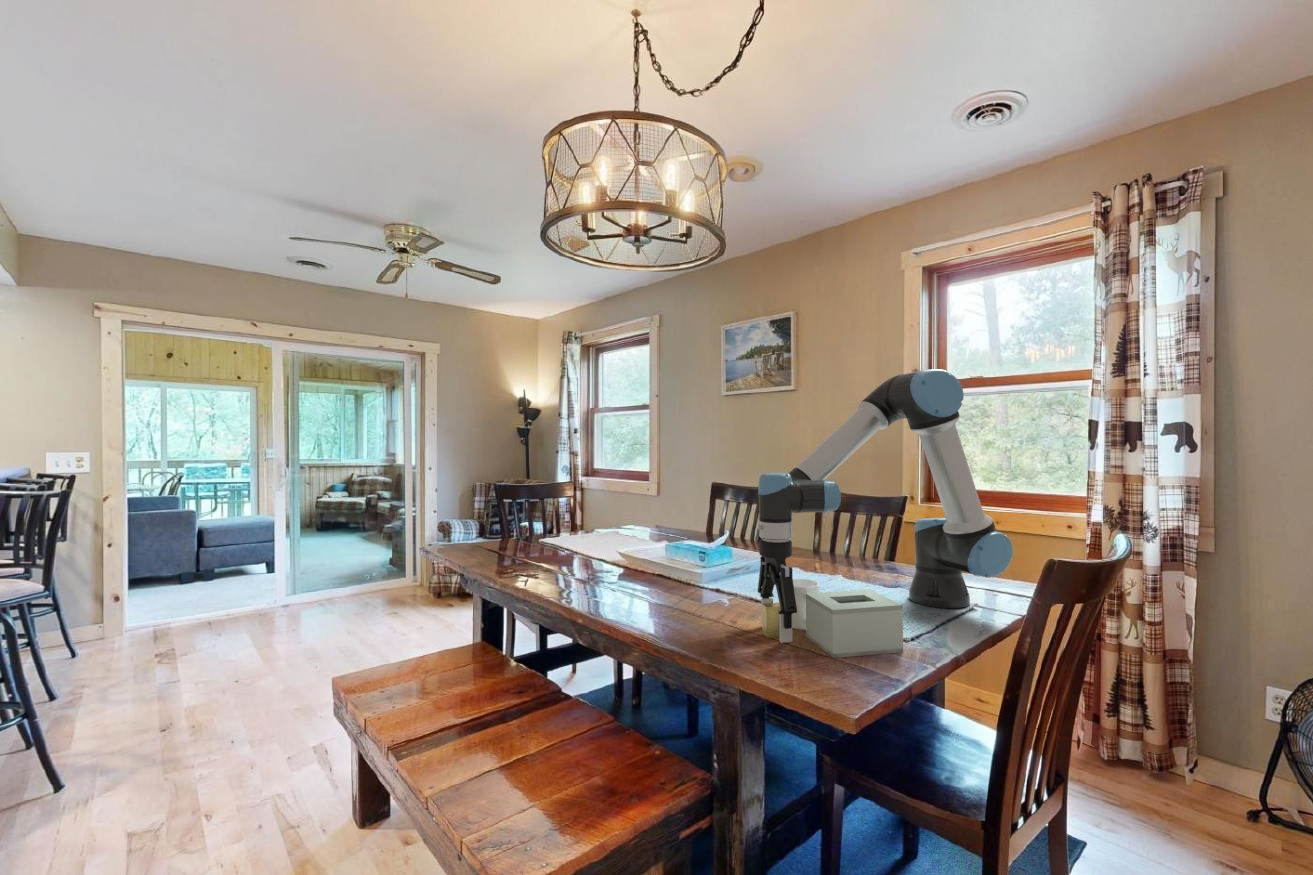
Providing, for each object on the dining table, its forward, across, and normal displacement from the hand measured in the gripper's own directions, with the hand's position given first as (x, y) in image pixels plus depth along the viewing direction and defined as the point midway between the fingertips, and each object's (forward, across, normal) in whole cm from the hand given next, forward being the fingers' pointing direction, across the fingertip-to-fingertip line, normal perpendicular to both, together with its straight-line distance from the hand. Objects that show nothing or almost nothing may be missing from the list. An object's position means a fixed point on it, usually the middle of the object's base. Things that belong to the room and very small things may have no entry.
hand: (776, 633), depth 132 cm
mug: (0, -3, +8) cm, 9 cm away
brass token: (0, 0, 0) cm, 0 cm away
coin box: (0, +10, +14) cm, 17 cm away
